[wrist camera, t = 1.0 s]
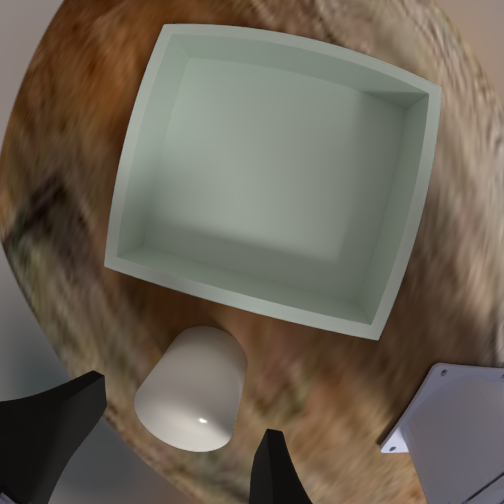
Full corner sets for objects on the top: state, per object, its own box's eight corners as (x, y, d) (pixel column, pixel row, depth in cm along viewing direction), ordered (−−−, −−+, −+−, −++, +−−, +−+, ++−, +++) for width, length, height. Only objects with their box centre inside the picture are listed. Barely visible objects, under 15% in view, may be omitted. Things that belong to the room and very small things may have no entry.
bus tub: (414, 105, 11) (441, 87, 8) (361, 312, 14) (378, 340, 11) (184, 51, 12) (164, 24, 9) (135, 252, 14) (104, 266, 11)
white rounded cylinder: (256, 338, 14) (244, 400, 10) (238, 398, 15) (223, 460, 11) (176, 315, 15) (134, 365, 10) (167, 377, 16) (134, 431, 11)
